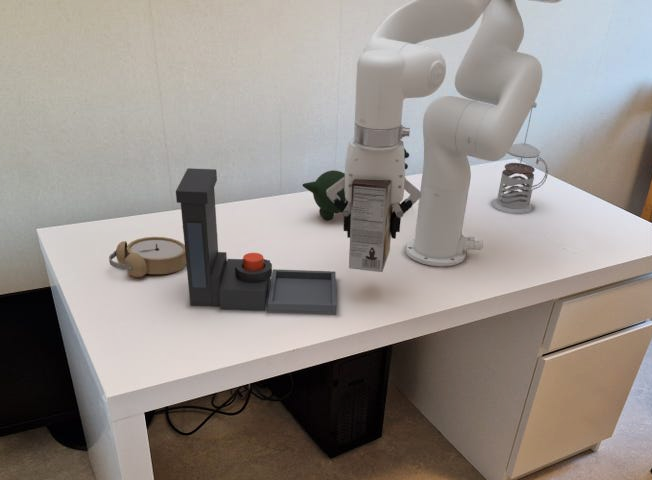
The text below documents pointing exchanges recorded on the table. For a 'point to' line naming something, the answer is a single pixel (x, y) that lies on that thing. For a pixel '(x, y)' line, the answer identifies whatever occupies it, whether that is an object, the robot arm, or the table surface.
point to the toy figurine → (321, 187)
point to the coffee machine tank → (201, 236)
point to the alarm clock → (150, 256)
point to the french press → (518, 179)
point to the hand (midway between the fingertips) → (371, 234)
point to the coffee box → (370, 224)
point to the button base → (244, 286)
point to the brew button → (253, 261)
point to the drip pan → (302, 292)
